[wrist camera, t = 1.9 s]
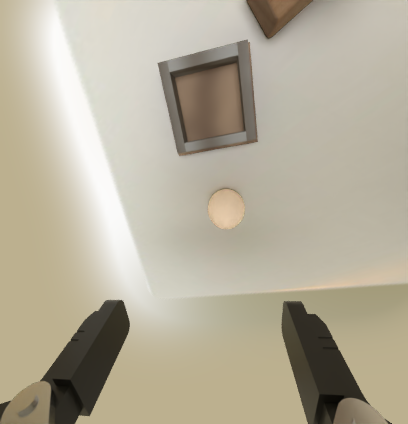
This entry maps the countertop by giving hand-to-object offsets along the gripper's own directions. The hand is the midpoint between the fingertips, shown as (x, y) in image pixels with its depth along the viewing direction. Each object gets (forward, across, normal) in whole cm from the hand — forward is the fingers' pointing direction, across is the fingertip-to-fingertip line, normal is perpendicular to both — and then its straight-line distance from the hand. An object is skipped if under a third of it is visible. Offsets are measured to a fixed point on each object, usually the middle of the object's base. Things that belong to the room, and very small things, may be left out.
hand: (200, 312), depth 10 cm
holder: (+20, 0, -11) cm, 23 cm away
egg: (+21, -2, +1) cm, 21 cm away
